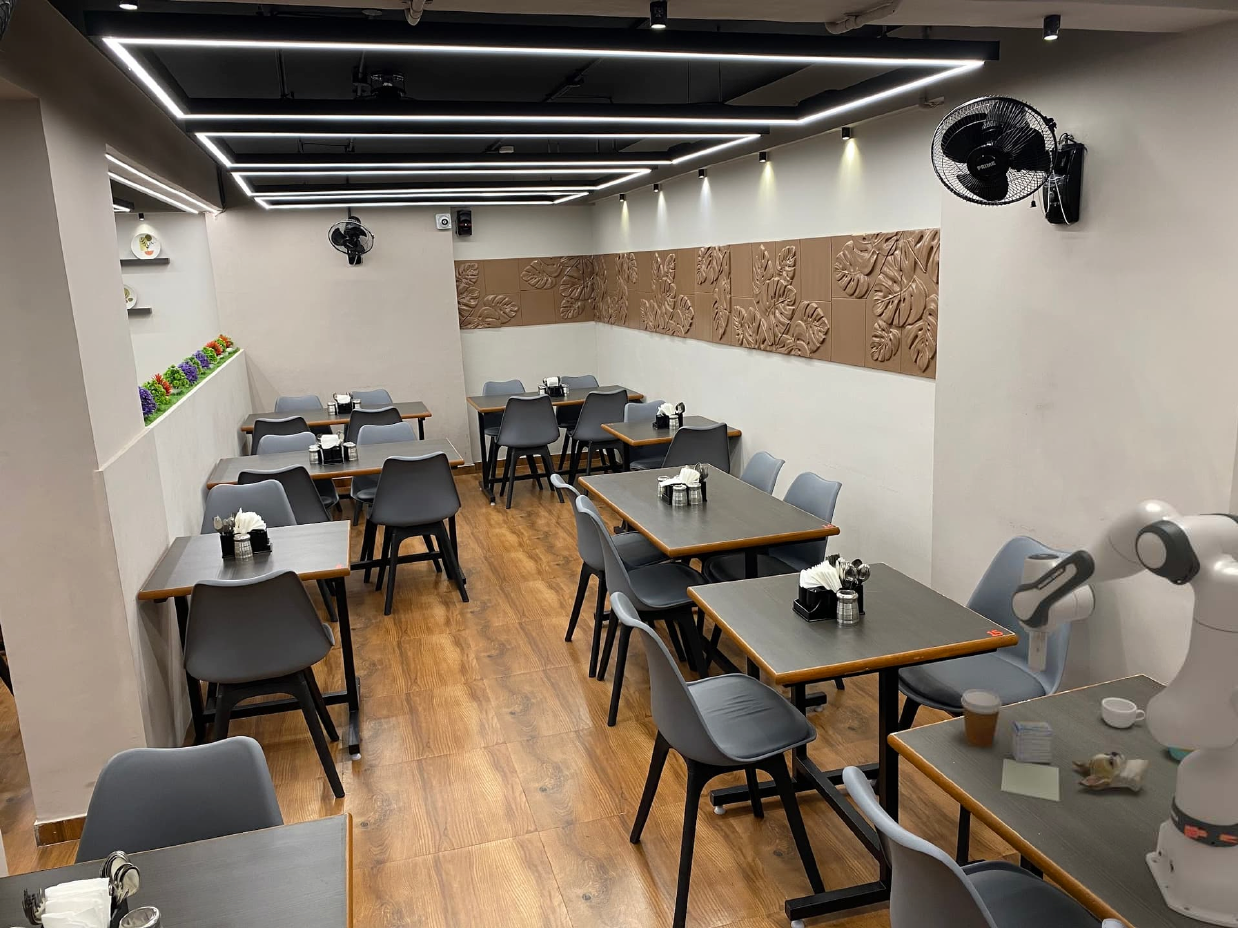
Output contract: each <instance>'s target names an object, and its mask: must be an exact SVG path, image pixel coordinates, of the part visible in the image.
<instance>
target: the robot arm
mask: <svg viewBox="0 0 1238 928" xmlns="http://www.w3.org/2000/svg"><path fill="white" fill-rule="evenodd" d="M1145 570H1148V572H1150V573H1152V574H1153V575H1155V576H1158V577H1161V578H1164V579H1166V580H1167V581H1169V582H1170V583H1172V584H1173V585H1176V586H1183V585H1186V584H1189V585H1190V586H1191V588H1192V589H1193V594H1194V601H1193V610H1192V611H1193V612H1192V619H1191V630H1190V636H1189V637H1190V638H1189V645H1188V648H1187V649H1188V651H1187V653H1186V656H1185V659H1184V661H1183V663H1182V665H1181V667H1180V669H1179V670H1178V672H1177V673H1176V675H1175V677H1174V678H1173V680H1171V682H1170V683H1169V684H1168V685H1167V686H1166V687H1164V688H1163V689H1162V690H1161V691H1160V692H1158V693H1157V694H1156V695H1154V696H1152V697H1151V699H1149V702H1148V704H1147V706H1146V710H1145V715H1146V716H1145V722H1146V725H1147V728H1148V730H1149V731H1150V733H1151V735H1152V736H1153V737H1154V738H1155V740H1156V741H1157V742H1159V743H1160V744H1161V745H1163V747H1168V748H1169V747H1173V748H1180V749H1188V750H1195V751H1193V752H1192V753H1190V754H1189V755H1187V756H1186V757H1185V758H1184V759H1183V760H1182V761H1180V763H1179V765H1178V768H1177V775H1176V784H1175V795H1174V796H1173V797H1172V799H1171V800H1172V801H1171V803H1170V817H1169V818H1168V819H1167V820H1165V821H1164V822H1162V823H1160V826H1159V833H1158V838H1157V846H1156V850H1155V851H1152V852H1149V853H1147V854H1146V855H1145V861H1146V863H1147V866H1148V867H1149V870H1150V872H1151V874H1152V876H1153V878H1154V880H1155V883H1156V884H1157V886H1158V888H1159V890H1160V892H1161V895H1162V896H1163V898H1164V899H1163V900H1164V901H1165V903H1166V905H1167V906H1168V908H1169V909H1171V910H1173V911H1175V912H1177V913H1179V914H1181V915H1184V916H1186V917H1189V918H1192V919H1195V920H1198V921H1201V922H1204V923H1208V924H1211V925H1213V924H1214V925H1218V926H1222V927H1228V928H1238V515H1235V514H1231V513H1220V512H1219V513H1218V512H1216V513H1203V514H1202V513H1201V514H1197V515H1196V514H1195V515H1194V514H1193V515H1192V514H1191V515H1190V514H1189V515H1183V516H1182V515H1181V514H1180V512H1178V510H1177V509H1176V508H1175V507H1174V506H1173V505H1171V504H1169V503H1167V502H1165V501H1163V500H1160V499H1148V500H1143V501H1142V502H1140V503H1137V504H1136V505H1134V506H1132V507H1131V508H1129V509H1127V510H1126V511H1124V512H1123V513H1122V514H1120V515H1119V516H1118V517H1117V518H1116V519H1115V520H1113V521H1112V522H1111V523H1110V524H1108V526H1107V527H1105V528H1104V529H1103V530H1102V531H1101V532H1099V533H1098V534H1097V535H1096V536H1095V537H1093V538H1092V539H1091V540H1090V541H1088V542H1087V543H1086V544H1085V545H1083V546H1082V547H1080V548H1079V549H1077V550H1076V551H1074V552H1073V553H1072V554H1071V555H1069V556H1067V557H1065V558H1064V559H1062V557H1060V556H1058V555H1057V554H1053V553H1038V554H1031V555H1029V556H1027V557H1026V559H1025V561H1024V564H1023V567H1022V573H1021V583H1020V585H1018V586H1017V588H1016V589H1015V590H1014V593H1013V594H1012V596H1011V597H1012V598H1011V604H1010V605H1011V609H1012V612H1013V614H1014V616H1015V617H1016V619H1018V624H1019V625H1020V626H1021V627H1023V629H1024V632H1026V633H1027V634H1029V639H1028V640H1029V641H1028V657H1027V658H1028V660H1027V661H1028V662H1027V666H1028V668H1029V669H1030V670H1031V673H1033V674H1040V673H1041V671H1044V670H1045V669H1046V664H1047V663H1046V660H1047V648H1048V644H1047V643H1048V636H1051V635H1052V634H1053V633H1054V631H1057V630H1058V629H1059V627H1060V624H1061V623H1066V622H1068V623H1069V622H1071V621H1077V620H1083V619H1086V618H1088V617H1090V616H1091V615H1092V614H1093V612H1094V611H1095V608H1096V595H1095V591H1094V590H1093V589H1094V588H1092V586H1091V585H1092V584H1093V585H1094V584H1097V583H1104V582H1108V581H1114V580H1121V579H1125V578H1129V577H1132V576H1135V575H1137V574H1139V573H1141V572H1144V571H1145Z"/></svg>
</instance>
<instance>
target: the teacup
mask: <svg viewBox="0 0 1238 928" xmlns="http://www.w3.org/2000/svg"><path fill="white" fill-rule="evenodd" d="M1140 713H1142V714H1143V716H1142V717H1139V718H1138V717H1137V716H1138V715H1139V714H1140ZM1101 715H1102V718H1103V720H1104V721H1105V722H1106V724H1107V725H1109V726H1111V727H1113V728H1117V729H1126V728H1128V727H1130V726H1132V725H1133V724H1134V723H1135V722H1138V721H1142V720H1144V719H1146V711H1143V710H1141V709H1138V708H1137V706H1136V704H1135V703H1134V702H1131V701H1130V700H1127V699H1125V698H1120V697H1106V698H1103V699H1102V700H1101Z"/></svg>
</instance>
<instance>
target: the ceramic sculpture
mask: <svg viewBox="0 0 1238 928" xmlns="http://www.w3.org/2000/svg"><path fill="white" fill-rule="evenodd" d="M1071 763H1072V765H1074V766H1076V767H1077V768H1078V769H1080V770H1081V771H1083V772H1085V773H1089V776H1086V777H1085V778H1084V779H1083V780H1082V781H1079V782H1077V785H1079V786H1082V787H1084V788H1087V789H1091V790H1096V791H1097V790H1102V789H1105V788H1129V789H1131V790H1132V791H1133V792H1138V791H1140V788H1141V786H1142V784H1143V782H1144V781H1145V779H1146V778H1147V775H1148V769H1149V760H1146V759H1144V760H1143V759H1139V758H1138V759H1126V758H1125V756H1124V755H1123V754H1121V753H1119V752H1116V751H1111V752H1110V753H1107V752H1106V753H1098V754H1095V756H1092V757H1091V759H1090V760H1089V759H1088V760H1085V761H1081V762H1079V761H1077V760H1073V761H1071Z"/></svg>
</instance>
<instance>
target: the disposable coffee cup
mask: <svg viewBox="0 0 1238 928" xmlns="http://www.w3.org/2000/svg"><path fill="white" fill-rule="evenodd" d="M960 702H961V704H962V709H963V719H964V731H965V740H966V741H967V743H968V744H970V745H971V746H974V747H979V748H988V747H991V746H992V745H993V744H994V739H995V733H996V729H997V724H998V719H999V713H1000V711H1001V708H1002V707H1003V704H1002V703H1003V702H1002V701H1001V698H1000V697H999V695H998V694H996V693H994V692H992V691H989V690H986V689H985V690H984V689H977V688H975V689H969V690H967V691H964V693H963V695H962V697H961V699H960Z"/></svg>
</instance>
